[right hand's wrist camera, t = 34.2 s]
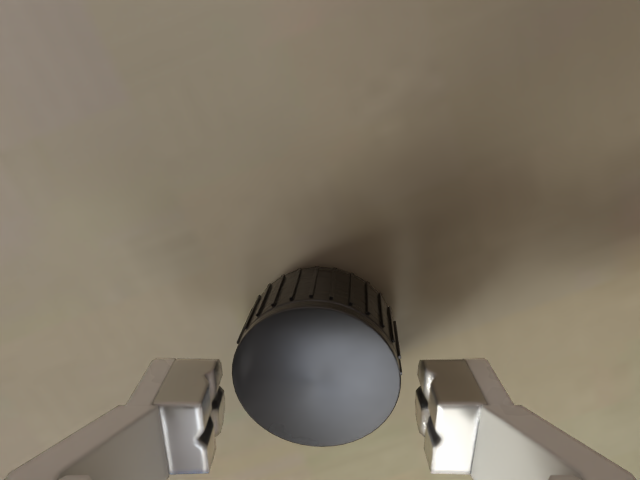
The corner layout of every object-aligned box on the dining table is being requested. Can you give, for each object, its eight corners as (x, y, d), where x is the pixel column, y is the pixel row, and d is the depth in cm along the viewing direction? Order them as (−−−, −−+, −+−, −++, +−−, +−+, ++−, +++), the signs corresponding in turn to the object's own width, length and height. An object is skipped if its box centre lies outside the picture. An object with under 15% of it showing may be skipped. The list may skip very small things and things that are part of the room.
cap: (258, 251, 12) (238, 288, 10) (412, 280, 11) (423, 324, 9) (242, 376, 13) (221, 431, 11) (378, 402, 13) (382, 462, 11)
